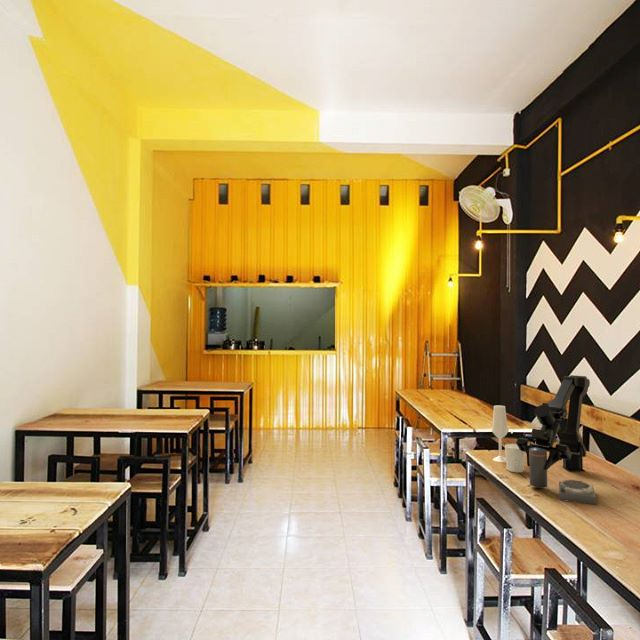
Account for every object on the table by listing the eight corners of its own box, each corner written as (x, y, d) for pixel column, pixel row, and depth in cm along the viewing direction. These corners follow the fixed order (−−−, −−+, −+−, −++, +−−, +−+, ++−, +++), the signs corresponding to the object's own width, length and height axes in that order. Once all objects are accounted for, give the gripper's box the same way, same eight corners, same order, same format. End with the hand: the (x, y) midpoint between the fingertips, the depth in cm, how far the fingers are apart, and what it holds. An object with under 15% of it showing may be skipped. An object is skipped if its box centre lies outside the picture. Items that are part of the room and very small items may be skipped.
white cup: (528, 472, 202) (528, 448, 202) (509, 473, 202) (508, 448, 202) (521, 467, 210) (520, 443, 210) (502, 467, 210) (502, 443, 210)
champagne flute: (506, 462, 216) (505, 408, 217) (490, 460, 220) (489, 406, 220) (510, 459, 222) (509, 405, 222) (494, 457, 226) (493, 404, 226)
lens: (543, 481, 186) (542, 447, 186) (550, 487, 180) (549, 451, 180) (527, 482, 186) (526, 447, 186) (533, 487, 180) (532, 451, 180)
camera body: (559, 488, 183) (558, 477, 183) (592, 492, 178) (592, 481, 178) (559, 500, 171) (559, 488, 171) (595, 504, 167) (595, 492, 167)
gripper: (517, 416, 193) (504, 450, 185) (567, 423, 179) (555, 460, 172) (527, 433, 198) (514, 467, 191) (576, 441, 184) (565, 477, 177)
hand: (536, 467), depth 182 cm, fingers closed on lens, 6 cm apart
